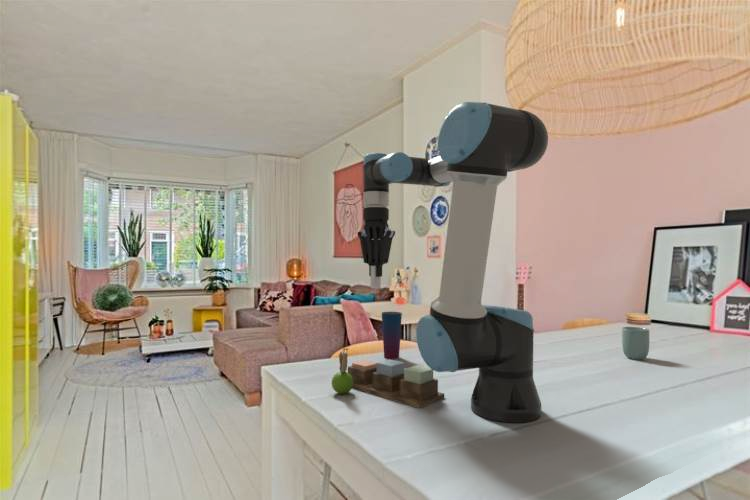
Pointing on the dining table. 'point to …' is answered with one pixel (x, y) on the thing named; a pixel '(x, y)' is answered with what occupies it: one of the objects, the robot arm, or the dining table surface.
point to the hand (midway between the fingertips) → (375, 287)
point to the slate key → (390, 368)
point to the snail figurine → (342, 376)
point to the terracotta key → (364, 365)
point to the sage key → (418, 374)
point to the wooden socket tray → (395, 387)
